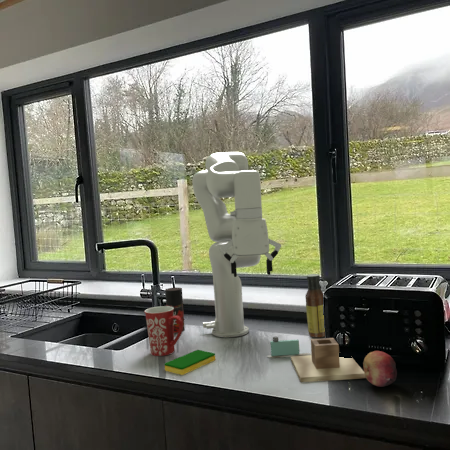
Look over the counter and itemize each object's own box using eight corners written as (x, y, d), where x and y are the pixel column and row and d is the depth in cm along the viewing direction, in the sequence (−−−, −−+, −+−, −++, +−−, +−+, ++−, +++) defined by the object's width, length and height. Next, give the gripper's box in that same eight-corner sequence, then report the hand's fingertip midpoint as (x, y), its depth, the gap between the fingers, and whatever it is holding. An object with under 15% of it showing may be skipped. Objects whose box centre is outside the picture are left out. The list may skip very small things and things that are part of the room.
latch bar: (271, 356, 139) (270, 338, 138) (271, 354, 140) (270, 336, 140) (299, 354, 139) (298, 336, 139) (298, 352, 140) (297, 334, 140)
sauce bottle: (326, 332, 160) (323, 272, 159) (329, 338, 154) (326, 276, 153) (306, 333, 161) (303, 273, 160) (308, 338, 155) (304, 276, 154)
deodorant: (169, 333, 171) (166, 291, 170) (167, 329, 177) (164, 288, 176) (185, 331, 172) (183, 289, 171) (183, 327, 178) (180, 286, 177)
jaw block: (316, 369, 125) (315, 346, 124) (311, 361, 131) (310, 339, 130) (339, 367, 125) (338, 344, 124) (334, 359, 131) (333, 337, 130)
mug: (141, 355, 149) (138, 311, 148) (160, 346, 156) (157, 305, 156) (173, 360, 142) (170, 314, 141) (192, 351, 150) (189, 307, 149)
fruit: (365, 378, 120) (364, 346, 119) (398, 380, 117) (397, 348, 116) (361, 390, 113) (359, 356, 112) (396, 393, 110) (395, 358, 109)
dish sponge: (164, 371, 134) (163, 363, 134) (198, 357, 145) (197, 349, 145) (182, 376, 130) (182, 367, 130) (216, 361, 140) (215, 352, 140)
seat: (276, 383, 120) (275, 367, 119) (267, 356, 141) (266, 341, 140) (365, 378, 120) (364, 361, 120) (343, 351, 141) (342, 336, 141)
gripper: (218, 217, 133) (221, 279, 134) (281, 213, 133) (284, 275, 135) (217, 215, 141) (221, 274, 142) (277, 212, 141) (280, 271, 142)
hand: (252, 275), depth 138 cm, fingers open, 9 cm apart
